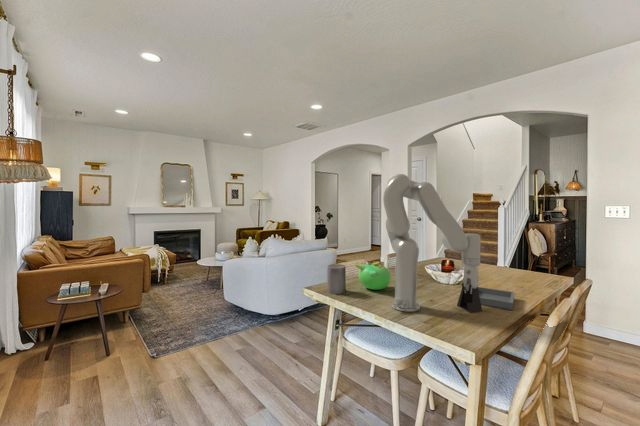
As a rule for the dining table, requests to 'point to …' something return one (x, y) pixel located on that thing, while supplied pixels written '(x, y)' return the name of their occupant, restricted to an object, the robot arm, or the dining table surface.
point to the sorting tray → (496, 298)
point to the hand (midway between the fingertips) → (470, 299)
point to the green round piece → (374, 276)
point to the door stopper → (470, 307)
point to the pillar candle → (336, 279)
